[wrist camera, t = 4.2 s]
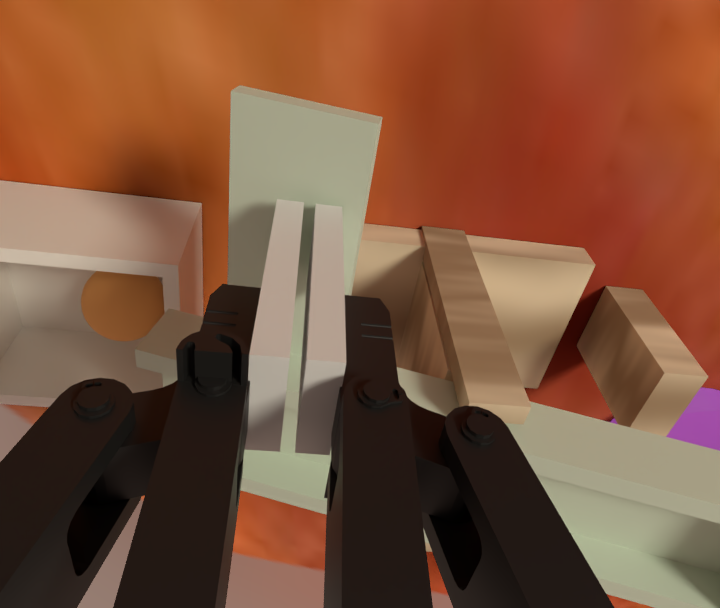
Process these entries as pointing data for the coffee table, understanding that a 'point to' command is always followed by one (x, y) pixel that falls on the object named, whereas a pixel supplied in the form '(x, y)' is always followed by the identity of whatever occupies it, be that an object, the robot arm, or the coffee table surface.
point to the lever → (535, 437)
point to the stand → (520, 323)
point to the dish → (84, 282)
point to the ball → (122, 304)
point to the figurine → (699, 420)
